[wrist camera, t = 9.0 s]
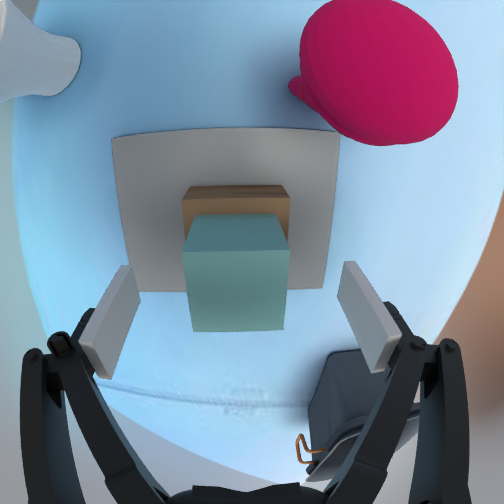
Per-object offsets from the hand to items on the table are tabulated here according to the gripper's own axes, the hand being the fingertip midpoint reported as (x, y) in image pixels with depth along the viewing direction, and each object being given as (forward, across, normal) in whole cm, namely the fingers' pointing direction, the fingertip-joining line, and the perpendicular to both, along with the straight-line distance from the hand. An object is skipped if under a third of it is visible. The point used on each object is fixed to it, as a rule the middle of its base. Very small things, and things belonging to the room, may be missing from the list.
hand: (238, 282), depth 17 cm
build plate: (+11, -1, 0) cm, 11 cm away
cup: (+11, -18, +17) cm, 27 cm away
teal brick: (+6, 0, -1) cm, 6 cm away
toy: (+11, +7, +12) cm, 18 cm away
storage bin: (+10, +15, -28) cm, 33 cm away
